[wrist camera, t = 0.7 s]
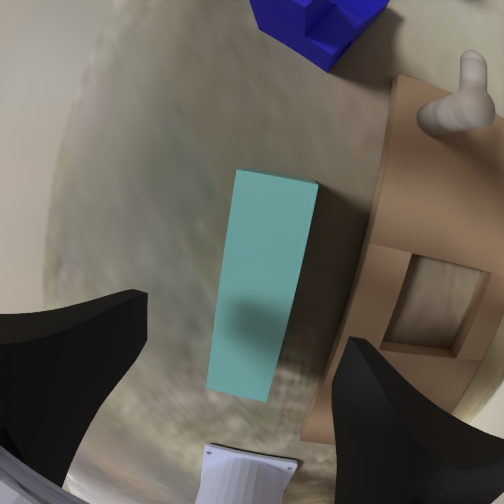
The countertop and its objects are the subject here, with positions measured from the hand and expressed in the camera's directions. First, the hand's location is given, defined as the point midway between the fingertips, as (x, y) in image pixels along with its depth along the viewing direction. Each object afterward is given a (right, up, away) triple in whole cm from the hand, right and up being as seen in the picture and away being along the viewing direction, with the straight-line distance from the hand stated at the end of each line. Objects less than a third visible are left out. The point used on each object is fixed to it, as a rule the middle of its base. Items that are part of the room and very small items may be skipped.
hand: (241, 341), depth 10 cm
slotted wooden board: (+11, 0, +6) cm, 13 cm away
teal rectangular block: (+1, +2, +7) cm, 8 cm away
